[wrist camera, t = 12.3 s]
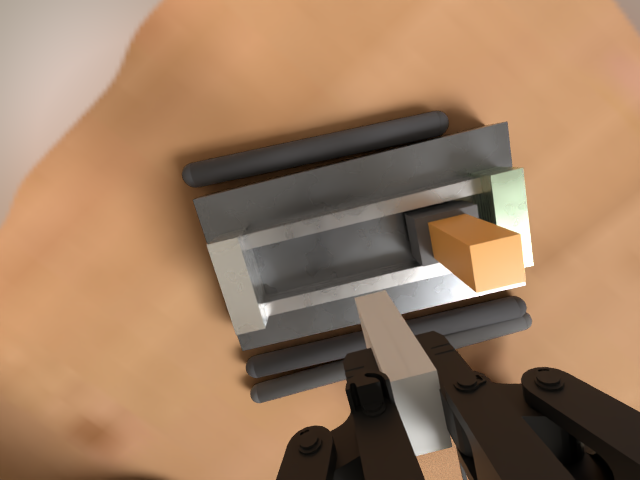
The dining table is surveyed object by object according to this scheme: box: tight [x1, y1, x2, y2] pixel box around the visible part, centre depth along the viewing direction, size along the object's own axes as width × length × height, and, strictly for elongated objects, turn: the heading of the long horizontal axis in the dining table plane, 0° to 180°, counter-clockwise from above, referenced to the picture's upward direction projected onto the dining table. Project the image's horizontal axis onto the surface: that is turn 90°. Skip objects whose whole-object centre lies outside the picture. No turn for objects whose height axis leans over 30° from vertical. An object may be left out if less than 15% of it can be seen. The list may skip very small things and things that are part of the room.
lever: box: [405, 200, 526, 293], centre depth 21 cm, size 4×3×8 cm
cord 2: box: [250, 312, 532, 403], centre depth 30 cm, size 25×2×2 cm, turn 107°
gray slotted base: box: [193, 122, 533, 351], centre depth 25 cm, size 22×12×6 cm, turn 104°
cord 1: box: [182, 111, 449, 187], centre depth 26 cm, size 20×2×2 cm, turn 102°
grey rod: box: [246, 296, 527, 378], centre depth 29 cm, size 24×2×2 cm, turn 104°
